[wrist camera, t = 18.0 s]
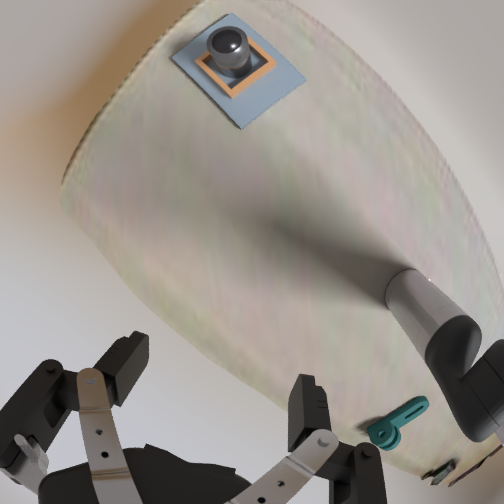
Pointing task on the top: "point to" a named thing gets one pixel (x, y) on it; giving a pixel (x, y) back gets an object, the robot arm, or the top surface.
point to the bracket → (396, 424)
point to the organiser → (249, 86)
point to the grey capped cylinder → (230, 51)
